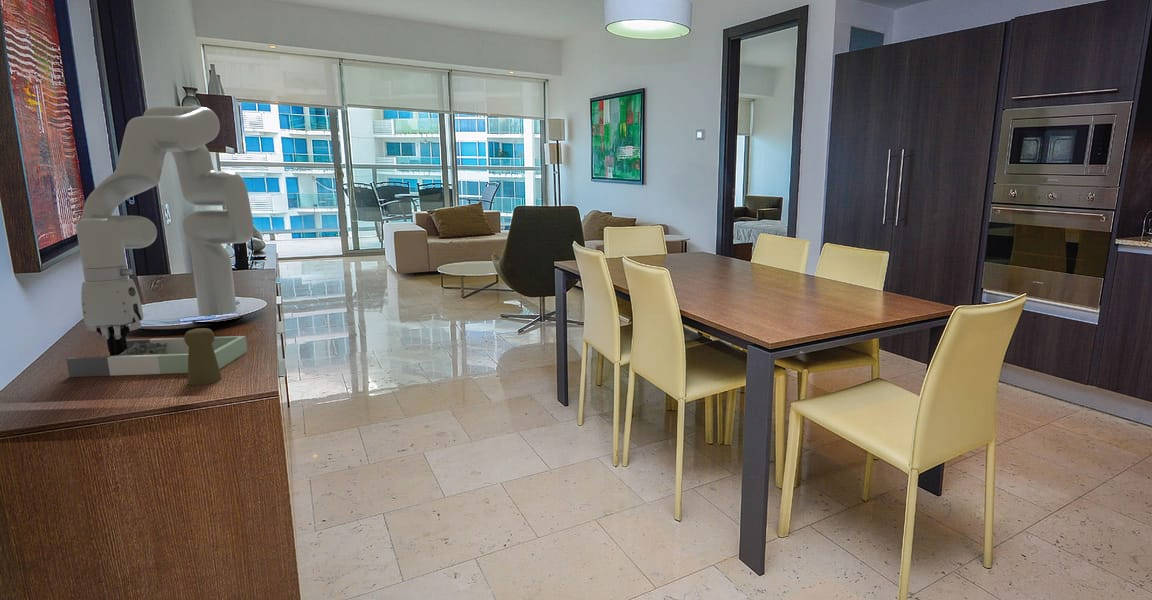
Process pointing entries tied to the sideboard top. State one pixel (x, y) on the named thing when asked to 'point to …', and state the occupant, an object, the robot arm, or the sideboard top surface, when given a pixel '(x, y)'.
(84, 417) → the sideboard top surface
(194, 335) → the cork
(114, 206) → the robot arm
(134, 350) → the egg carton
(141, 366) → the frame
